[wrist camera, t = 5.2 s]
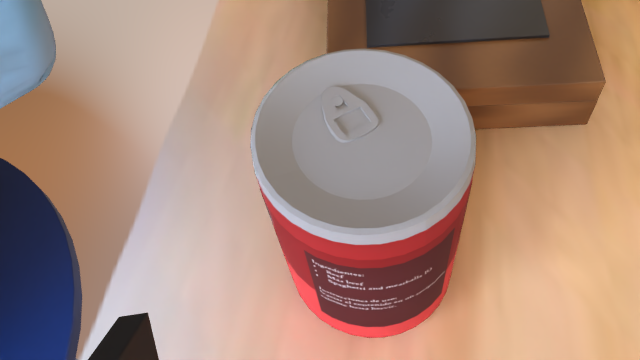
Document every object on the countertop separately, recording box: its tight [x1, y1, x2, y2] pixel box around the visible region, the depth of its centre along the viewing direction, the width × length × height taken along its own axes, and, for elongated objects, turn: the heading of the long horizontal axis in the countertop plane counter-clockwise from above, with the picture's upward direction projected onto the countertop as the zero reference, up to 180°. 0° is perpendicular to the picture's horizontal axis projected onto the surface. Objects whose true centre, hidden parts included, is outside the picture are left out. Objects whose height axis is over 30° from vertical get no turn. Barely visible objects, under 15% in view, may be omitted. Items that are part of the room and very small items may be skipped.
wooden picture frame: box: [327, 0, 606, 129], centre depth 36 cm, size 14×16×4 cm
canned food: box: [251, 49, 476, 338], centre depth 25 cm, size 8×8×11 cm
